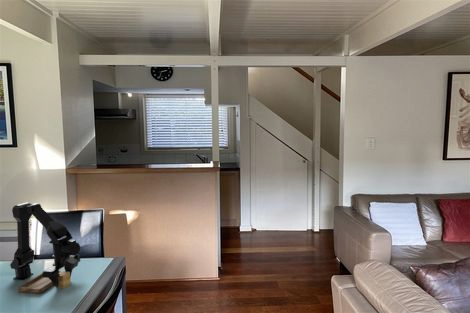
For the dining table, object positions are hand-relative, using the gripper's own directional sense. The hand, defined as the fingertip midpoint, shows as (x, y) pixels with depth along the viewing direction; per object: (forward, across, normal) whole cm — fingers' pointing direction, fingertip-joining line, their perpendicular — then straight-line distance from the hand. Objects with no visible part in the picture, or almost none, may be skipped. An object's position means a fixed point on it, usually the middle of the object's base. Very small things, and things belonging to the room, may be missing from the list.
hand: (63, 282), depth 159 cm
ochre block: (+1, 0, 0) cm, 1 cm away
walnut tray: (+1, 0, +11) cm, 11 cm away
